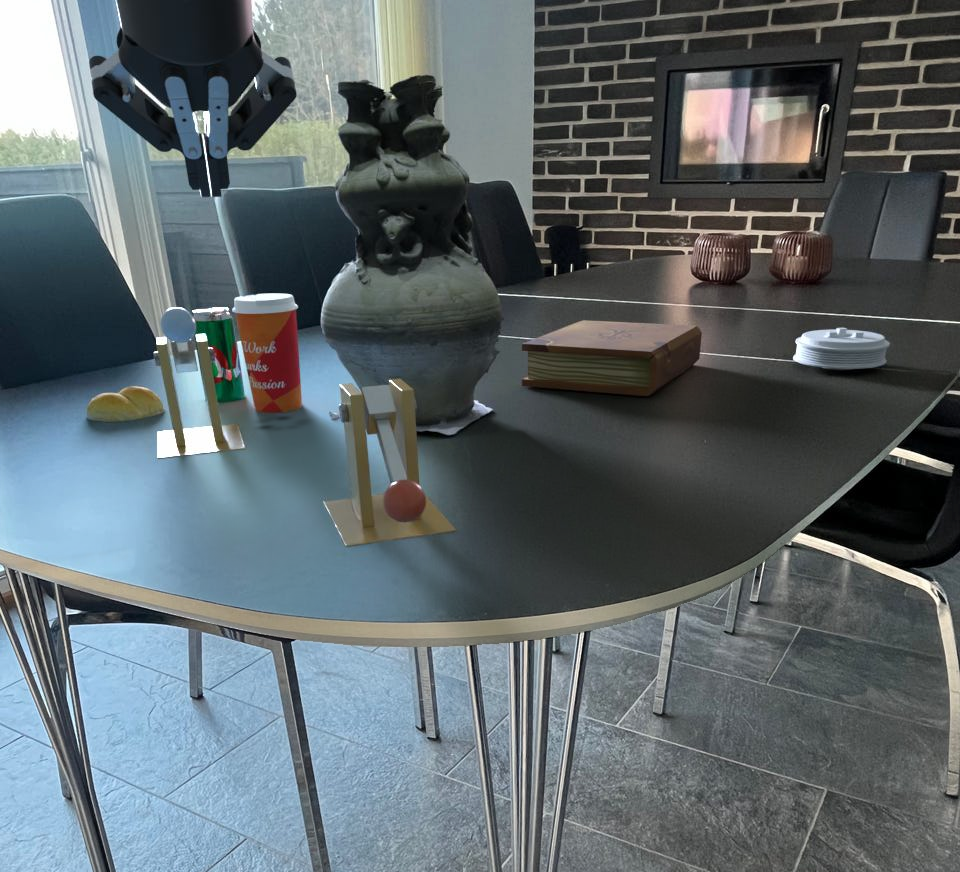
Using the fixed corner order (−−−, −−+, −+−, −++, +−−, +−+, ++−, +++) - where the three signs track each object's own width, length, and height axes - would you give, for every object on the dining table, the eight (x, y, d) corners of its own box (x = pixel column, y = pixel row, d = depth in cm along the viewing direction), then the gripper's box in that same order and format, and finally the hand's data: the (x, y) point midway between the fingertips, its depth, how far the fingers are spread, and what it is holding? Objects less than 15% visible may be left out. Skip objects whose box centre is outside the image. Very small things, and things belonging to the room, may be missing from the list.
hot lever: (428, 527, 66) (432, 502, 63) (387, 533, 65) (390, 508, 62) (392, 408, 71) (395, 380, 68) (353, 412, 70) (355, 383, 67)
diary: (654, 398, 111) (657, 352, 109) (521, 387, 119) (521, 343, 116) (698, 365, 129) (702, 324, 127) (581, 357, 137) (582, 318, 134)
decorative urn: (298, 431, 101) (253, 77, 85) (381, 391, 119) (358, 90, 102) (464, 446, 94) (451, 63, 78) (526, 401, 112) (527, 80, 95)
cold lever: (198, 334, 81) (191, 300, 81) (162, 337, 80) (156, 303, 80) (203, 374, 93) (198, 345, 92) (172, 377, 92) (167, 347, 92)
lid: (845, 355, 133) (850, 321, 130) (904, 370, 122) (912, 334, 120) (774, 362, 130) (779, 327, 127) (829, 379, 119) (836, 341, 117)
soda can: (233, 400, 116) (218, 305, 111) (253, 405, 113) (239, 309, 108) (199, 407, 113) (182, 310, 108) (219, 413, 110) (202, 313, 104)
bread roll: (79, 423, 107) (71, 390, 106) (148, 410, 113) (142, 378, 111) (106, 435, 102) (97, 401, 100) (177, 420, 107) (170, 388, 105)
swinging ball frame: (457, 543, 70) (451, 396, 64) (346, 560, 67) (330, 408, 62) (422, 501, 79) (414, 368, 73) (324, 514, 77) (308, 378, 71)
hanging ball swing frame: (247, 459, 92) (229, 344, 86) (159, 469, 90) (134, 351, 84) (239, 433, 101) (222, 328, 96) (159, 442, 99) (137, 334, 93)
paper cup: (236, 417, 108) (217, 298, 101) (286, 405, 113) (271, 291, 106) (273, 427, 103) (255, 303, 97) (324, 414, 108) (310, 295, 102)
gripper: (49, -13, 44) (119, 234, 60) (310, -7, 47) (310, 226, 63) (36, -120, 46) (107, 148, 62) (288, -108, 49) (293, 144, 65)
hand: (210, 187), depth 63 cm, fingers closed
